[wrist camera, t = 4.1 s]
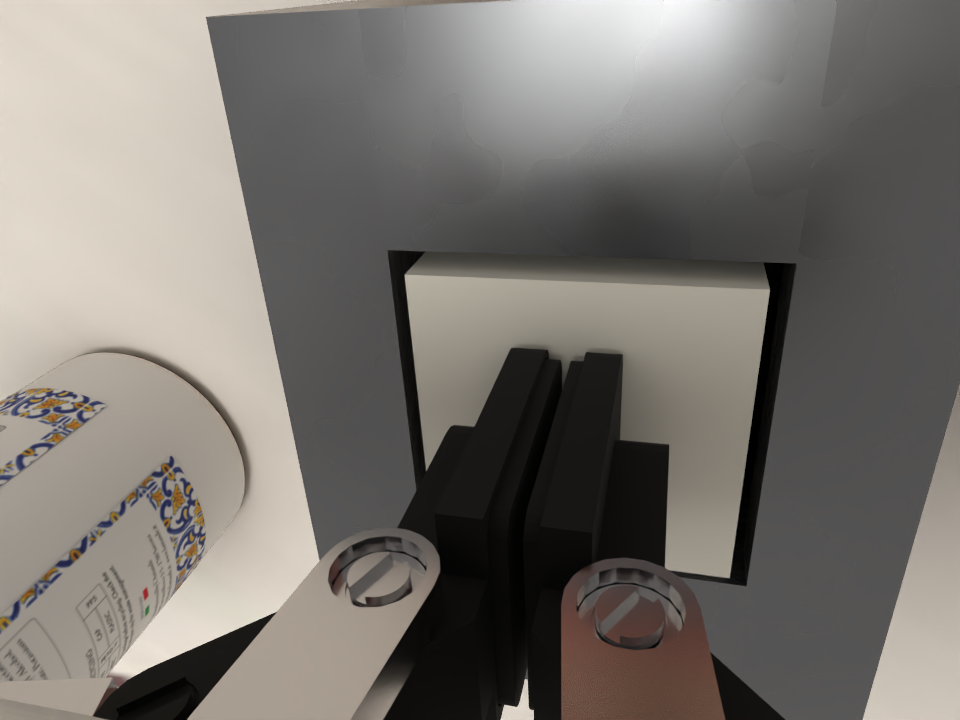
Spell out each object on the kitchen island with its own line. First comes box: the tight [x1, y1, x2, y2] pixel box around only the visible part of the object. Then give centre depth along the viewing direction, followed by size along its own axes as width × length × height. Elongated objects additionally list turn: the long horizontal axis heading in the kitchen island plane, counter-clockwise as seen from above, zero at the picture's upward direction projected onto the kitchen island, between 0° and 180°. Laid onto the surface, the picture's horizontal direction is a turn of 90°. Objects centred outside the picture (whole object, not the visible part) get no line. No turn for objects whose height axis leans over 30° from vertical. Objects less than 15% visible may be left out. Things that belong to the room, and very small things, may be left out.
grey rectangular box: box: [206, 0, 960, 720], centre depth 14 cm, size 10×12×7 cm
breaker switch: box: [405, 251, 770, 578], centre depth 13 cm, size 5×5×5 cm
